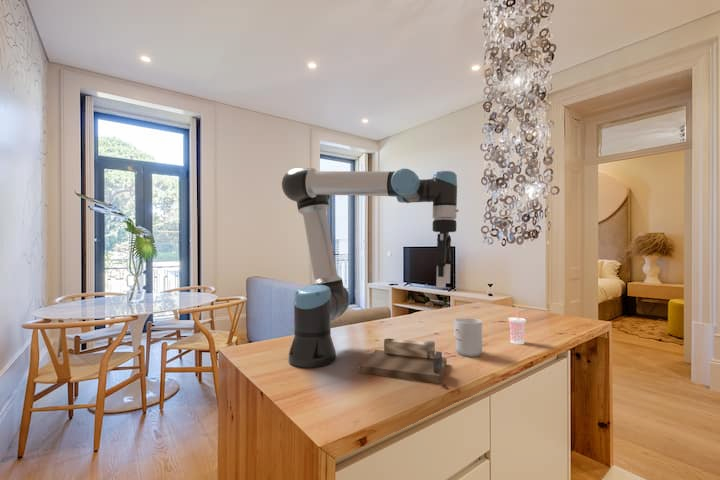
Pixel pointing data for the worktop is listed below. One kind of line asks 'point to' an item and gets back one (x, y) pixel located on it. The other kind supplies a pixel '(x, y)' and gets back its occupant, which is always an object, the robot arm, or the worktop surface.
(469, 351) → the mug
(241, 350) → the worktop surface
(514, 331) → the beverage cup
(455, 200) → the robot arm
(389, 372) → the wooden base board
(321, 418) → the worktop surface
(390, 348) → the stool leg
